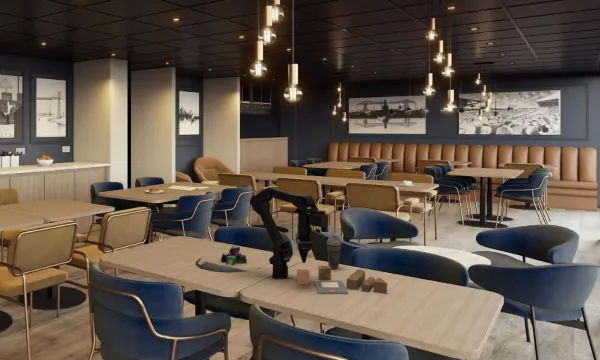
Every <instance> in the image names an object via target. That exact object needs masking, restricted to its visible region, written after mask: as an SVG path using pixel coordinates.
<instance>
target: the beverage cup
mask: <svg viewBox="0 0 600 360" xmlns="http://www.w3.org/2000/svg"><path fill="white" fill-rule="evenodd" d="M326 248H327V249H326V250H327V264H328V265H327V266H330V268H331V271H332V270H334V271H335V270H338V269H339V265H340V259H341V257H340V255H341V250H342V240H341V239H340V238H339V237H338V236H336V235H334V228H333V226H331V236H329V238H327V241H326Z"/></svg>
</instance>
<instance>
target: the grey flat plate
mask: <svg viewBox="0 0 600 360" xmlns="http://www.w3.org/2000/svg"><path fill="white" fill-rule="evenodd" d="M314 285H315V289H316V292H317V294H318V295H327V294H328V295H348V294H349V293H348V290H347V287H346V285H345V284H344V281H343V280H314Z"/></svg>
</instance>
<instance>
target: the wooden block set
mask: <svg viewBox="0 0 600 360" xmlns="http://www.w3.org/2000/svg"><path fill="white" fill-rule="evenodd" d="M372 287H373V293H379V294H385V295H386V294H387V293H388V282H387V281H386V280H384V279H382V278H381V277H377V278H375V277H373V276H369V277H367V279H366V271H365V270H362V269H356V271H355V272H353V273H351V274H350V275H349V276H348V277H347V278H346V290H347V289H348V290H354V291H355V290H356V291H357V290H358V289H359V288H361V291H363V292H368V291H369V290H370V289H371V288H372Z"/></svg>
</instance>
